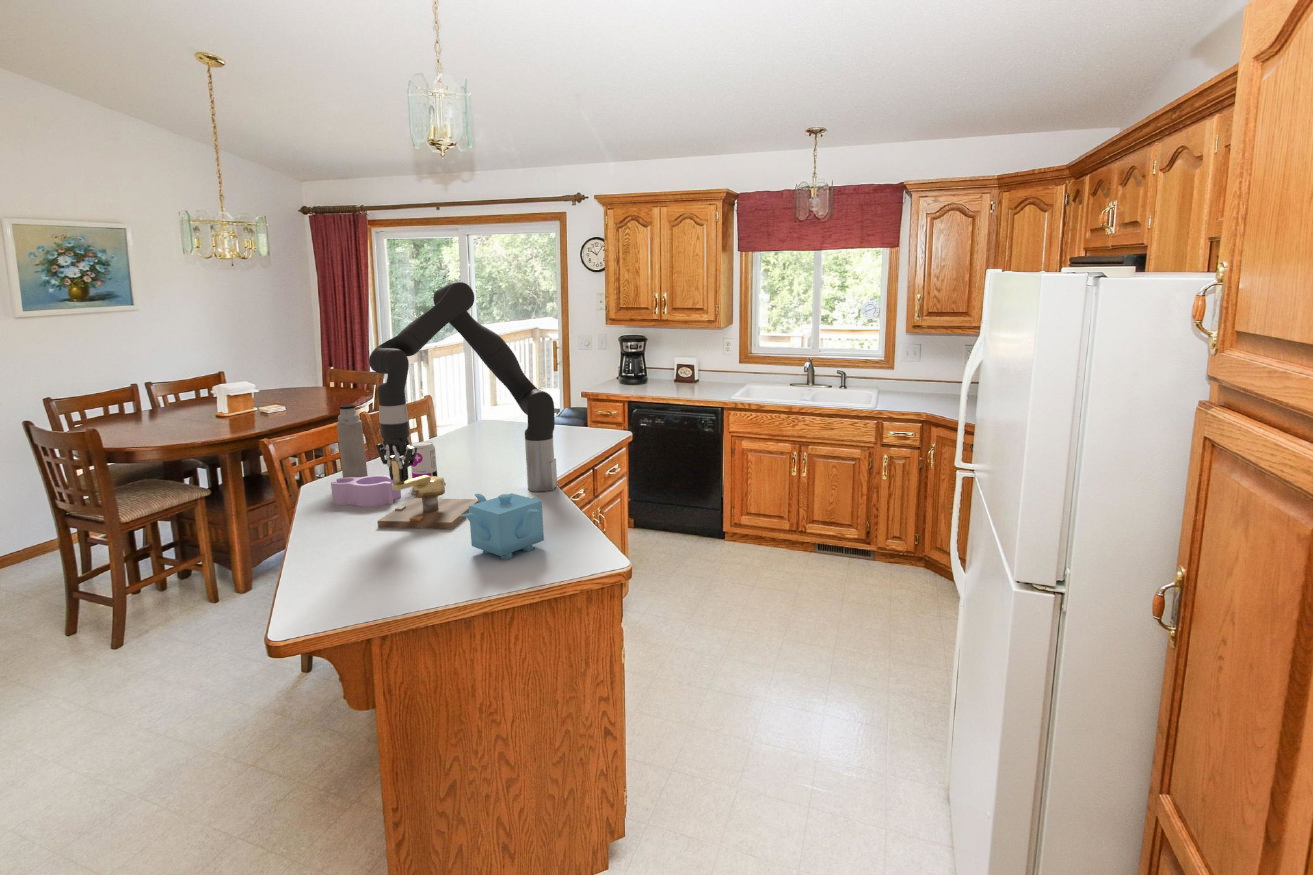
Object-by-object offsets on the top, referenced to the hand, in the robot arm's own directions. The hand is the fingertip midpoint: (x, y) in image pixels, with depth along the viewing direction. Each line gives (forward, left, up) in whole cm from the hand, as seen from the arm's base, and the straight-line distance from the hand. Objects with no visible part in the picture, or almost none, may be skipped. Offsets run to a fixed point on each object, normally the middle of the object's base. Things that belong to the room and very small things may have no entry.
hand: (399, 479), depth 202 cm
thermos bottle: (+38, -41, -14) cm, 57 cm away
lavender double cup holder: (+24, -23, -14) cm, 36 cm away
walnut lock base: (-4, -9, -14) cm, 17 cm away
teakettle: (-36, +17, -14) cm, 42 cm away
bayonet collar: (-3, -6, -7) cm, 10 cm away
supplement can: (+12, -40, -14) cm, 44 cm away
